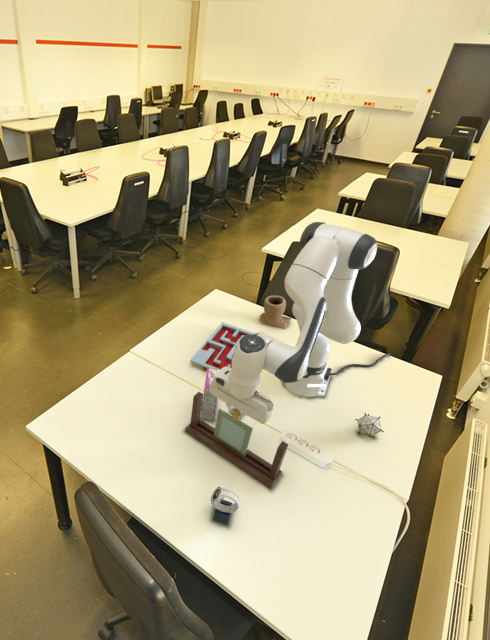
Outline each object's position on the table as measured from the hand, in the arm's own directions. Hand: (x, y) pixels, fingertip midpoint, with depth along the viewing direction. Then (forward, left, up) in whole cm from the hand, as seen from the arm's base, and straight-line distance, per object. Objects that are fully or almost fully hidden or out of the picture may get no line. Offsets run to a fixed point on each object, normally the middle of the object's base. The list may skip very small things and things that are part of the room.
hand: (235, 415), depth 125 cm
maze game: (-46, -30, -18) cm, 58 cm away
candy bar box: (-11, -16, -18) cm, 26 cm away
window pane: (0, 0, -15) cm, 15 cm away
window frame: (0, +1, -18) cm, 18 cm away
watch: (+21, +11, -18) cm, 30 cm away
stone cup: (-83, -25, -18) cm, 88 cm away
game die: (-41, +33, -18) cm, 55 cm away
